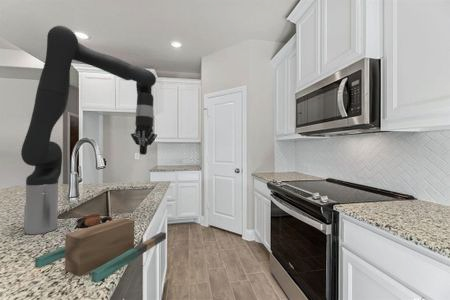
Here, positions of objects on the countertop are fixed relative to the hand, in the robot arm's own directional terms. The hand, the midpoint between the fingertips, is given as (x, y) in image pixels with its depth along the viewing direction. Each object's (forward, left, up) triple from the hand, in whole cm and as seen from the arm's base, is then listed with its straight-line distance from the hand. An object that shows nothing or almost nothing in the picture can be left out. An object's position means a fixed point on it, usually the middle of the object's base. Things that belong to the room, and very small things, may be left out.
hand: (143, 154), depth 100 cm
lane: (+13, -31, -28) cm, 44 cm away
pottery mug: (-2, -23, -29) cm, 37 cm away
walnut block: (+16, -36, -29) cm, 48 cm away
